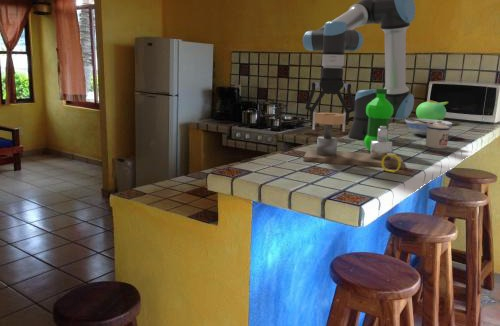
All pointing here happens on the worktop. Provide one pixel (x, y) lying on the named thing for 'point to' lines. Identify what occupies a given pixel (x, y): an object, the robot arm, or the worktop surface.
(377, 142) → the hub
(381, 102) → the plastic bottle
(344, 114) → the robot arm
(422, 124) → the ramen bowl
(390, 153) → the watch
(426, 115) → the green pumpkin
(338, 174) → the worktop surface
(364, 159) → the tool board
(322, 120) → the octagonal notched ring
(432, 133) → the teacup with lid
